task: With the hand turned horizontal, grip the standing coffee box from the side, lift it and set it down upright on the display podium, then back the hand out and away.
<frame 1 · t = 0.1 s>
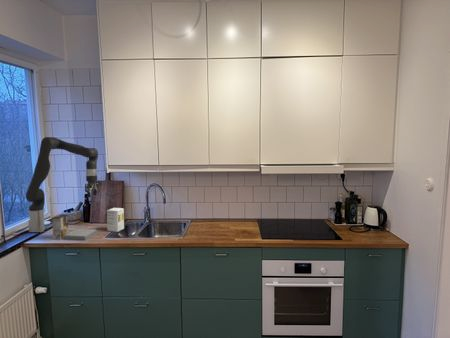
hand: (92, 196, 212), 29 cm above the worktop, tool pointing down, fingers open, 8 cm apart
podium: (81, 236, 210), on the worktop
coffee box: (61, 237, 207), on the worktop
supplement box: (115, 229, 226), on the worktop
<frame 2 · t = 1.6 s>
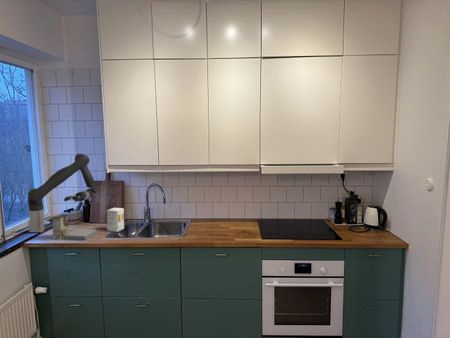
hand: (69, 200, 216), 25 cm above the worktop, tool horizontal, fingers open, 8 cm apart
nothing on the worktop moved.
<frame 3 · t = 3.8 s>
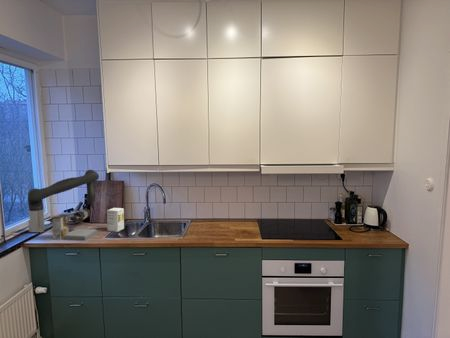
hand: (68, 221, 215), 10 cm above the worktop, tool horizontal, fingers open, 8 cm apart
nothing on the worktop moved.
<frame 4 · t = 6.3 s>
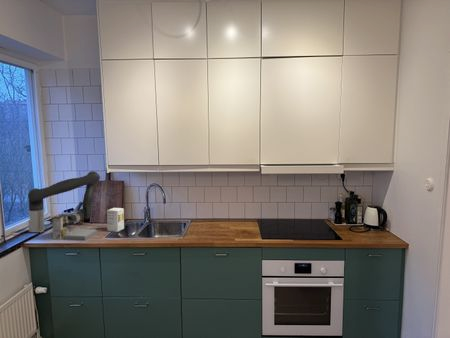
hand: (58, 225, 203), 10 cm above the worktop, tool horizontal, fingers closed on coffee box, 6 cm apart
coffee box: (61, 237, 207), on the worktop, touching gripper
everything else where it was.
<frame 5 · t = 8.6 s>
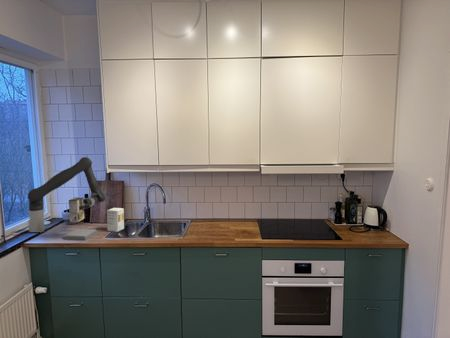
hand: (74, 208, 205), 22 cm above the worktop, tool horizontal, fingers closed on coffee box, 6 cm apart
coffee box: (77, 220, 208), point 12 cm above the worktop, touching gripper
everything else where it was.
when the fingers open (14 cm above the worktop, at t = 10.9 s): coffee box drops 1 cm, resting on podium.
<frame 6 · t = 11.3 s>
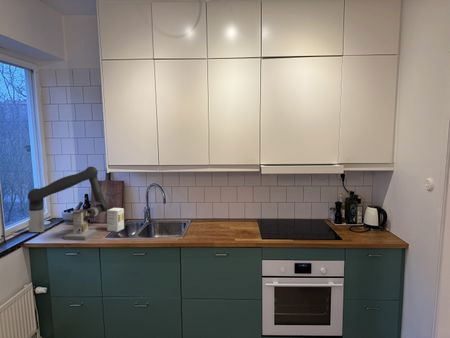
hand: (79, 218, 206), 14 cm above the worktop, tool horizontal, fingers open, 8 cm apart
coffee box: (81, 232, 209), point 3 cm above the worktop, touching podium
everything else where it was.
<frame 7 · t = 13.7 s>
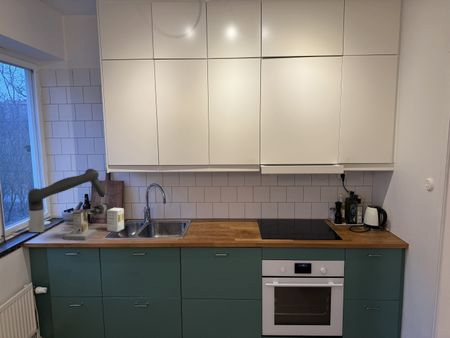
hand: (88, 213, 219), 14 cm above the worktop, tool horizontal, fingers open, 8 cm apart
nothing on the worktop moved.
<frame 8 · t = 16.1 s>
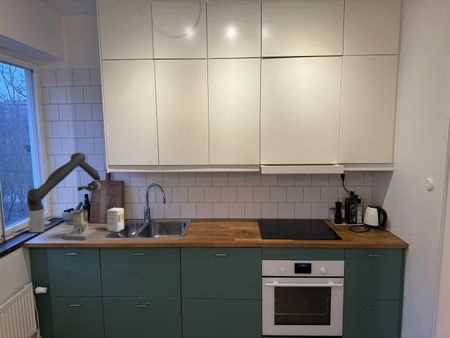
hand: (83, 189, 223), 32 cm above the worktop, tool horizontal, fingers open, 8 cm apart
nothing on the worktop moved.
at the end: coffee box inside the target area on the podium (0.1 cm from its centre), point 2.8 cm above the podium's base; coffee box tilted 0°; the gripper is holding nothing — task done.
